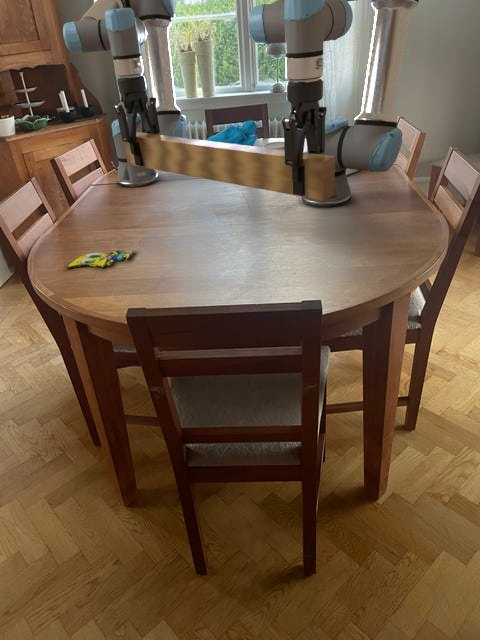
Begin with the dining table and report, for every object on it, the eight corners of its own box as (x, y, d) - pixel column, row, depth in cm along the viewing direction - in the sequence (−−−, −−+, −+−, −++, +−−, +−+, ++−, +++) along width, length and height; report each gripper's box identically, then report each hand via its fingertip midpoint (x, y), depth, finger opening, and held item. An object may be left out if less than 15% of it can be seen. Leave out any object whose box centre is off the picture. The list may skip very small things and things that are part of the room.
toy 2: (195, 134, 218) (257, 114, 208) (203, 157, 223) (264, 139, 213) (184, 143, 204) (250, 123, 194) (193, 168, 209) (257, 149, 199)
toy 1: (121, 265, 120) (65, 266, 122) (122, 268, 120) (66, 269, 122) (134, 248, 128) (81, 249, 130) (135, 251, 129) (82, 251, 131)
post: (127, 164, 145) (121, 135, 141) (139, 160, 148) (133, 131, 143) (323, 200, 106) (324, 161, 102) (334, 194, 109) (335, 156, 105)
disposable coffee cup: (260, 182, 170) (258, 147, 164) (269, 174, 177) (267, 141, 171) (286, 183, 167) (285, 148, 160) (294, 175, 174) (293, 141, 168)
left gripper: (111, 81, 123) (130, 172, 135) (164, 71, 133) (176, 156, 146) (95, 80, 127) (114, 169, 140) (147, 71, 138) (160, 154, 150)
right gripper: (294, 87, 91) (296, 205, 104) (343, 73, 101) (340, 182, 114) (263, 86, 95) (269, 200, 108) (313, 72, 106) (313, 177, 119)
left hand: (146, 162), depth 143 cm, fingers closed on post, 5 cm apart
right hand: (305, 190), depth 111 cm, fingers closed on post, 5 cm apart
